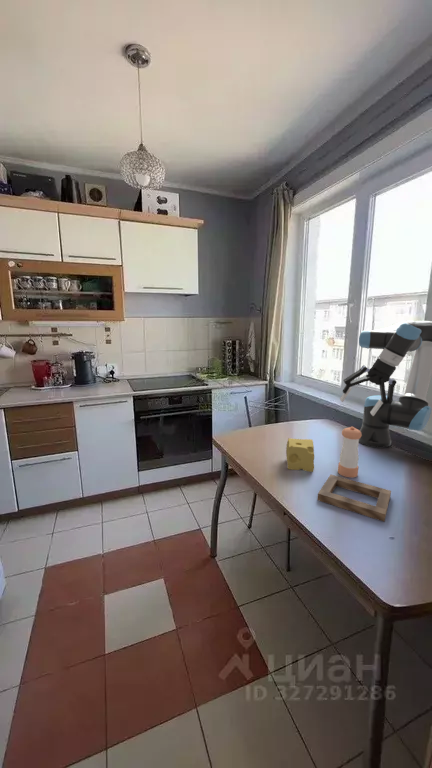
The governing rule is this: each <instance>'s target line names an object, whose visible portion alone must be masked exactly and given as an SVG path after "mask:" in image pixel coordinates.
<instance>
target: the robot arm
mask: <svg viewBox="0 0 432 768" xmlns="http://www.w3.org/2000/svg"><path fill="white" fill-rule="evenodd" d="M358 345H359V346H360V348H362V349H363V348H364V349H373V350H374V349H375V350H382V351H381V352H380V354H379V356H378V358H376V359H375V361H374V363H373V364H372V366H371V367H370V368H368V367H367V366H366V365H364V364H363V365H361V367H360V369H358V370H356V371H355V372H353V373H352V374H350V375H349V376H347V377H346V378H344V379H343V383H344V384H345V386H344V388H343V389H342V395H341V396H340V398H339V399H340V402H342V403H344V402H345V399H347V397H348V395H349V394H350V392H351V391H352V389H353V388H352V387H354V386H356V385H357V386H358V385H360V384H362V383H364V382H370V383H373V384H374V385H377V386H379V392H380V395H371V396H370V395H369V396H368V397H366V398H365V400H364V405H363V416H362V424H361V427H360V429H359V430H360V431H361V434H362V436H361V438H360V439H359V443H360V444H362V445H365V446H367V447H373V448H377V449H378V448H381V449H382V448H389V447H391V445H392V438H391V433H390V426H392V427H398V428H402V429H407V430H410V431H417V432H421V431H423V430H424V429H425V428H426V426H427V425H428V423H429V419H430V417H431V412H432V407H431V406H429V404H430V403H429V401H428V400H427V395H428V390H429V387H430V382H431V378H432V320H406V321H400V322H396V323H392V324H390V325H389V326H388V327H384V328H379V329H375V330H371V329H369V330H367V329H366V330H362V331H361V332H360V334H359V337H358ZM409 352H411V353H412V352H415V353H414V357H413V360H412V364H411V367H410V372H409V375H408V378H407V381H406V386H405V390H404V394H403V395H401V396H399V399H398V400H394V391H395V386H396V384H397V380H396V379H395V378H391V376H392V375H393V374H394V373H395V371H396V369H397V367H399V365H400V364H401V362H402V361H403V360H404V358H405V357H406V355H407V354H408V353H409ZM364 373H367V374H365V375H363V374H364ZM362 375H363V376H362ZM360 376H362V377H360ZM387 382H388V387H387V388H388V389H387V392H386V385H385V383H387ZM386 393H387V394H386ZM388 446H389V447H388Z"/></svg>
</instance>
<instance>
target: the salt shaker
mask: <svg viewBox="0 0 432 768" xmlns="http://www.w3.org/2000/svg"><path fill="white" fill-rule="evenodd" d="M341 435H342V436H343V441H342V442H343V443H342V447H341V452H340V454H339V462H338V467H337V473H338V474H339V475H340V476H341V477H344V478H357V477H358V475H359V443H360V442H359V439H360V438H361V436H362V434H361V431H360V429H357V428H356V427H354V426H349V427H345V428H343V429H342V430H341Z"/></svg>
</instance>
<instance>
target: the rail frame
mask: <svg viewBox="0 0 432 768" xmlns="http://www.w3.org/2000/svg"><path fill="white" fill-rule="evenodd" d="M337 487H338V488H341V489H345V490H347V491H348V490H349V491H352V492H354V493H359V494H363V495H365V496H370V497H372V498H376V499H377V501H376V504H375V505H373V504H370V503H366V502H364V501H360V500H356V499H353V498H350V497H346V496H343V495H340V494H337V493H334V491H335V489H336V488H337ZM391 495H392V490H390V489H387V488H382V487H379V486H375V485H371V484H367V483H364V482H360V481H358V480H357V481H356V480H353V479H349V478H347V477H343V476H337V475H334V474H329V476H328V478H327V479H326V481H325V482H324V483H323V485H322V486H321V488H320V490H318V493H317V501H319V502H322V503H325V504H326V505H327V504H328V505H331V506H333V507H334V506H335V507H338V508H340V509H344V510H347V511H350V512H353V513H355V514H359V515H362V516H365V517H368V518H371V519H374V520H376V521H377V520H378V521H381V522H384V523H385V520H386V517H387V513H388V509H389V504H390V500H391Z"/></svg>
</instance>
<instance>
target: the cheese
mask: <svg viewBox="0 0 432 768" xmlns="http://www.w3.org/2000/svg"><path fill="white" fill-rule="evenodd" d="M285 449H286V451H285V454H286V455H285V456H286V464H287V470H292V471H300V470H302V471H304V472H310V473H314V471H315V464H314V463H315V450H314V449H315V447H314V440H313V439H311V438H308V439H307V438H306V439H302V438H300V439H299V438H291V437H290V438H289V437H288V439H287V443H286V447H285Z"/></svg>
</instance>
